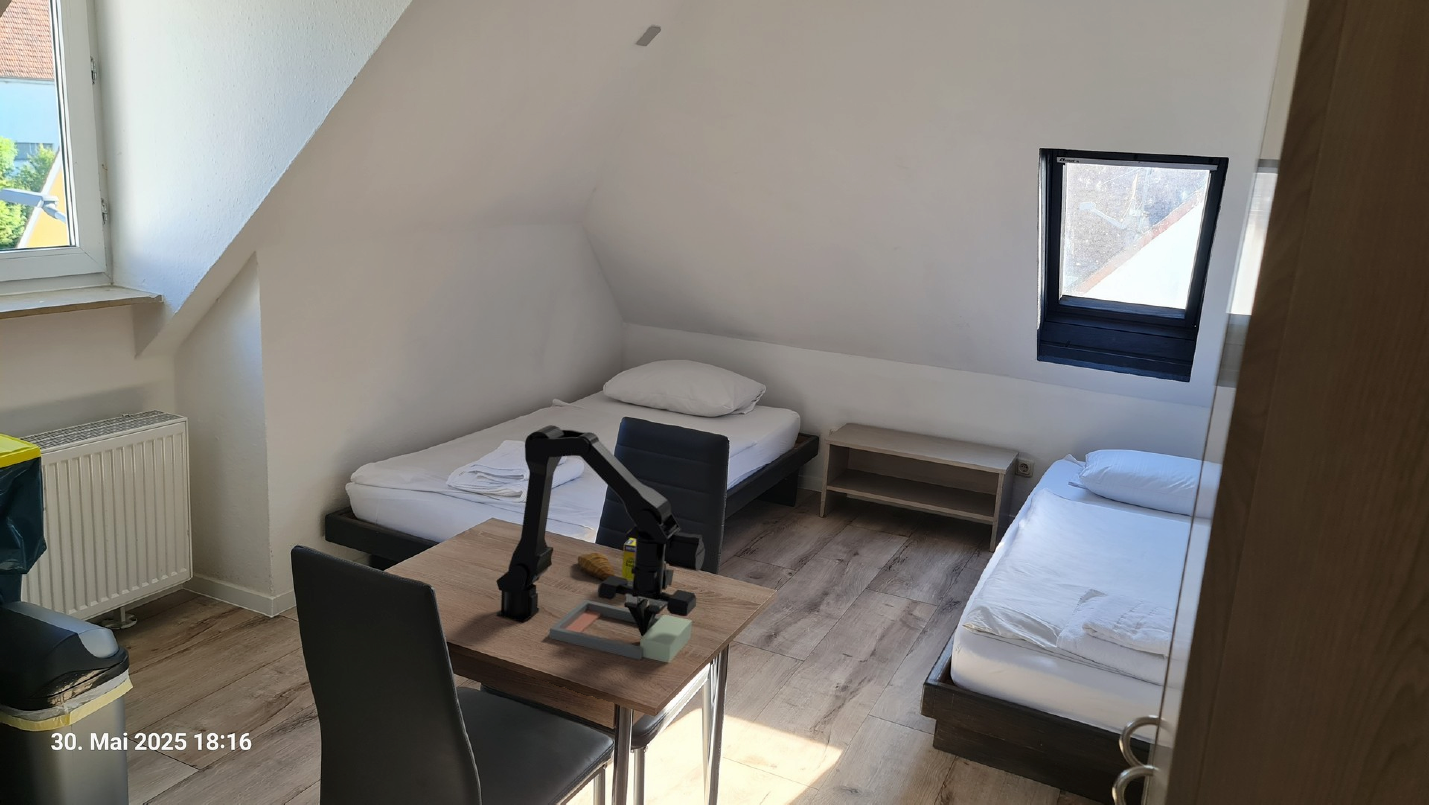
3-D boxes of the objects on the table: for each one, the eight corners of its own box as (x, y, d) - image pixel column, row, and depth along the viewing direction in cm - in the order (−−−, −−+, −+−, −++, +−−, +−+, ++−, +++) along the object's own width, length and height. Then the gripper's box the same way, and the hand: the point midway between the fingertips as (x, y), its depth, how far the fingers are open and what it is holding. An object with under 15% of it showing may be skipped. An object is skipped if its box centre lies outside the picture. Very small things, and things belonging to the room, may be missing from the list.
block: (639, 657, 188) (640, 638, 187) (662, 632, 199) (664, 614, 198) (668, 664, 186) (670, 645, 185) (690, 639, 197) (692, 620, 196)
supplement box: (646, 595, 216) (649, 548, 213) (620, 591, 217) (623, 544, 214) (653, 585, 221) (656, 539, 219) (627, 581, 222) (630, 535, 220)
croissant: (566, 566, 228) (567, 545, 227) (591, 560, 233) (592, 540, 232) (598, 586, 218) (600, 565, 217) (624, 580, 223) (625, 559, 222)
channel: (549, 638, 192) (549, 628, 192) (584, 608, 206) (585, 599, 206) (640, 660, 186) (640, 650, 186) (670, 628, 200) (670, 619, 200)
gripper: (708, 556, 195) (702, 630, 198) (622, 539, 201) (618, 610, 204) (688, 576, 185) (682, 652, 188) (598, 557, 191) (594, 632, 194)
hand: (644, 635), depth 194 cm, fingers closed
